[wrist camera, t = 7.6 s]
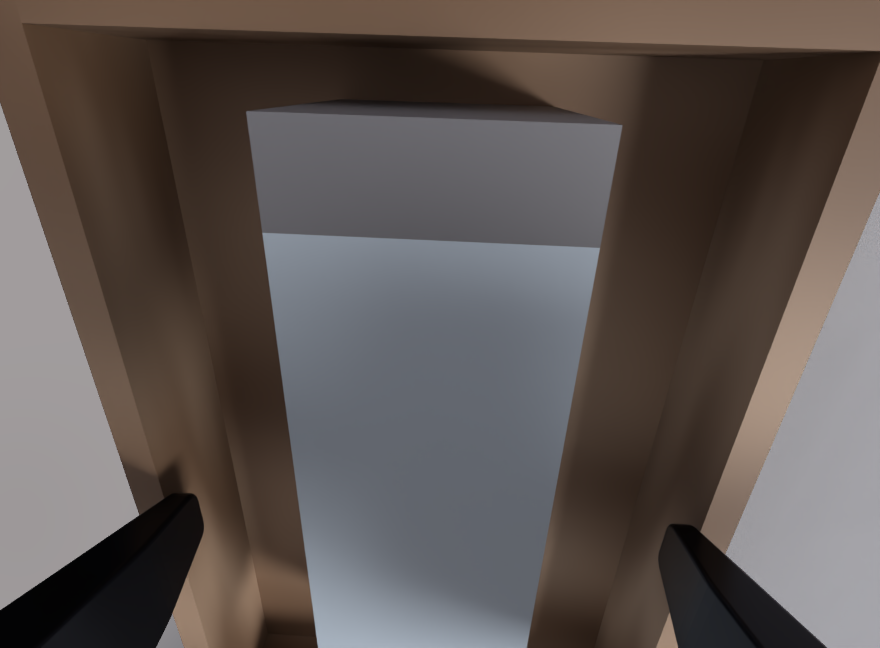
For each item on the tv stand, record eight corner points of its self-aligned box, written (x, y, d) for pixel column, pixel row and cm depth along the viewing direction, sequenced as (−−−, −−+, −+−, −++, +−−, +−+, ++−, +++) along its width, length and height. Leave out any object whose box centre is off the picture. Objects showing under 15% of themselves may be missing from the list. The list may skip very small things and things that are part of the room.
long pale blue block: (492, 607, 14) (501, 787, 10) (368, 598, 14) (334, 773, 11) (554, 107, 8) (622, 124, 5) (341, 99, 8) (245, 111, 5)
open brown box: (604, 655, 15) (632, 771, 13) (256, 631, 16) (214, 738, 13) (799, 20, 8) (966, -12, 5) (116, -2, 8) (-48, -40, 6)
